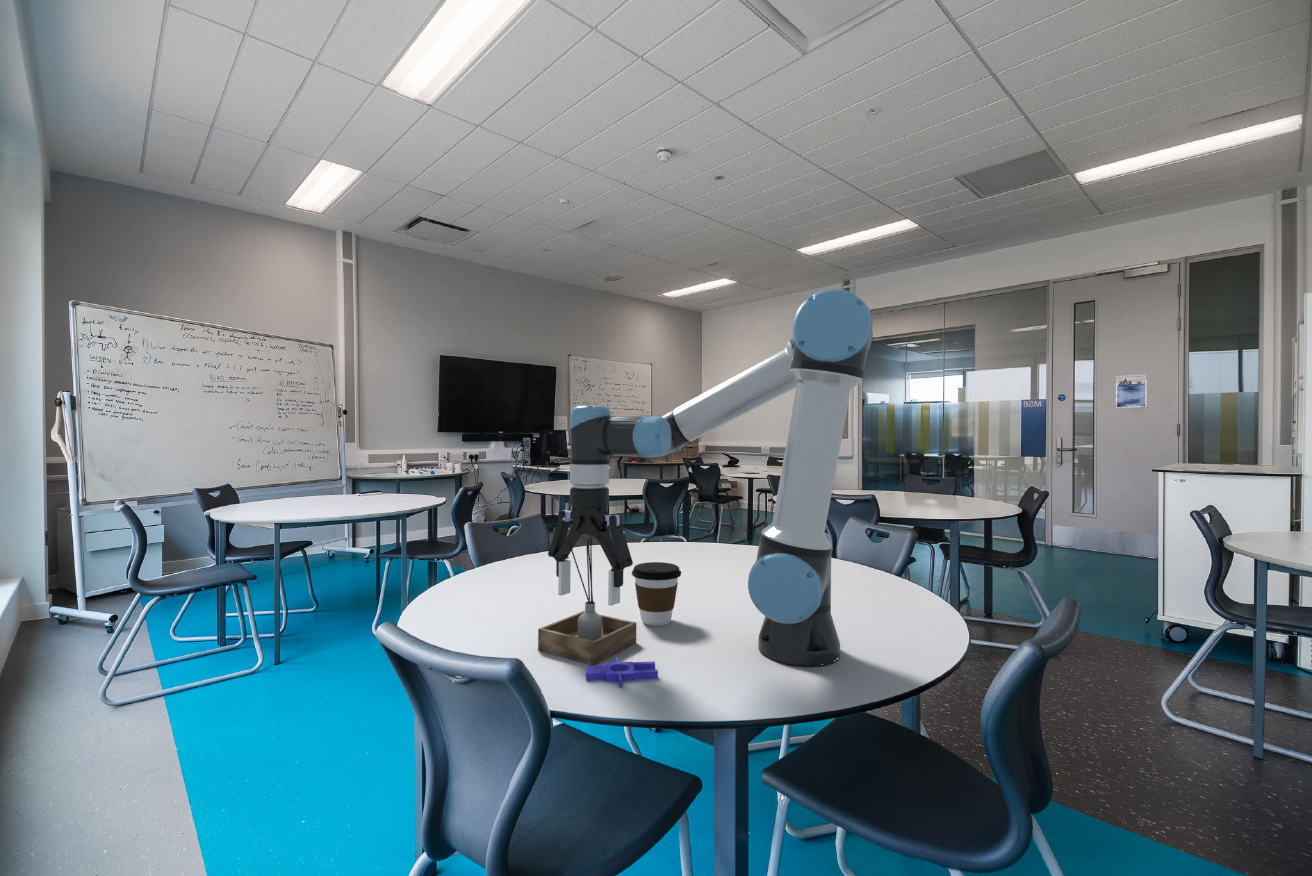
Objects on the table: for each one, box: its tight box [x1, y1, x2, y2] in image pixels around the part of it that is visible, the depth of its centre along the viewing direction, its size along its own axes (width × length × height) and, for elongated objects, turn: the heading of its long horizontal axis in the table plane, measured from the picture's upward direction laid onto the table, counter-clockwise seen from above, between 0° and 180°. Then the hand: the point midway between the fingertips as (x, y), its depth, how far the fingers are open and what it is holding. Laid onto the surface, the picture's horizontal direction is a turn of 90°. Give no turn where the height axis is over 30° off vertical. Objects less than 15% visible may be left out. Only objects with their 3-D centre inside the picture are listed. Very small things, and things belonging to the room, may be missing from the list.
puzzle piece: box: [585, 656, 659, 689], centre depth 98 cm, size 10×12×2 cm
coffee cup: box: [631, 561, 682, 627], centre depth 126 cm, size 11×11×12 cm
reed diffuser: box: [568, 535, 603, 641], centre depth 111 cm, size 10×7×20 cm
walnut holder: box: [537, 610, 637, 665], centre depth 111 cm, size 13×13×4 cm
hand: (588, 598), depth 111 cm, fingers open, 11 cm apart
